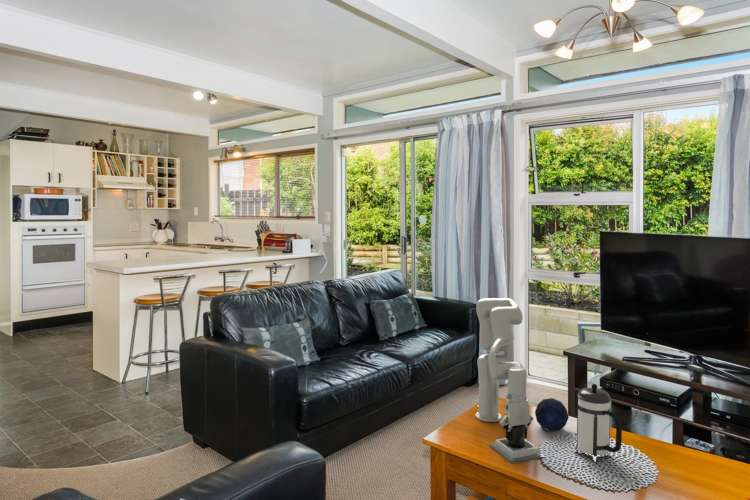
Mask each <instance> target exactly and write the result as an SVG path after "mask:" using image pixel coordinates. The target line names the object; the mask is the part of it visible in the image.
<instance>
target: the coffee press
mask: <svg viewBox="0 0 750 500" xmlns="http://www.w3.org/2000/svg"><path fill="white" fill-rule="evenodd" d="M577 399H578V401H577V411H576V412H577V413H576V414H577V417H576V419H577V420H576V446H575V447H576V449H578V450H580V451H582V452H585V453H587V454H591V455H594V456H597V455H600V456H602V455H606V454H608V455H609V453H610V452H611V453H617V452H619V451H620V450H621V448H622V439H623V438H622V435H623V434H622V432H623V428H622V421H621V419H620V416H619V415H617V413H616V412H614V411H611V403H612V397H611V396H610V394H609V393H608V391H605V390H604V389H602V388H598V385H597V384H596V383H592V384H591V386H590V387H584V388H581V389H580V390H579V392H578V393H577ZM611 418H612V419H613V420H614V423H615V428H616V429H615V446H613V447H612V446H611V445H610V443H611V442H610V441H611V440H610V439H611ZM582 452H581V453H582ZM606 456H607V455H606Z"/></svg>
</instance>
